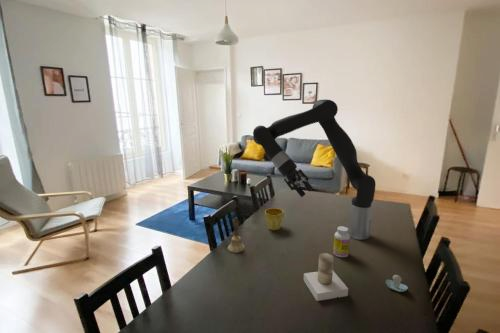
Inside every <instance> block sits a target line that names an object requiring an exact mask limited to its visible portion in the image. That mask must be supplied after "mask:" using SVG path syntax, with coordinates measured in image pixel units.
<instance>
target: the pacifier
mask: <svg viewBox="0 0 500 333" xmlns="http://www.w3.org/2000/svg"><path fill="white" fill-rule="evenodd" d="M402 281H403V279H402V277H401V276H400V275H398V274H394V275H392V279H386V280H385V284H386V286H387V287H388V288H389V289H392V290H394V291H395V292H400V293H402V292H406V291H407V290H408V286H407V285H406V284H403V283H401V282H402Z"/></svg>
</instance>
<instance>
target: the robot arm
mask: <svg viewBox="0 0 500 333" xmlns="http://www.w3.org/2000/svg"><path fill="white" fill-rule="evenodd" d="M338 110H339V108H338V105H337V103H336V102H335V101H334V100H331V99H318V100H316V101H314V103H313V104H312V108H310V109H308V110H305V111H303V112H299V113H296V114H295V113H294V114H292V115H288V116H286V117H283V118H279V119H278V120H276V121H273V122H272V123H271V124H270V126H269V125H268V126H267V127H266V126H264V125H257V126H255V127H254V129H253V132H252V135H253V136H252V137H253V141H254V143H255V144H257V145H258V146H260V147H262V148H263V151H264V153H265V155H266V156H267V157H268V159H269V161H271V163H272V164H273V166H274V167H275V168H276V169H277V171H278V172H279V173H280V174H281V176H282V177H283V178H284V179H283V181H284V182H285V183H286V185H287V186H288V187H289V188H290V190H291V191H296V193H297V194H298V195H299V196H300V197H301V198H303V197H304V196H305V195H306V192H305V191H304V190H303V189H302V187H300V184H302V185H304V187H305V188H306V190H307V191H308V192H311V191H313V190H314V187H313V186H312V185H311V184H310V182H309V180H310V178H309V177H308V176H307V175H306V174H305V173H304V172H303V170H302V169H301V168H300V169H298V170H297V167H298V165H297V164H296V162H294V160H292V158H291V157H290V155H289V154H288V153H287V152H285V150H284V149H283V148H282V147H281V145H280V144H279V143H278V142H277V140H276V139H277V138H279V137H281V136H284V135H287V134H289V133H292V132H294V131H296V130H298V129H301V128H303V127H307V126H310V125H312V124H316V123H318V124H319V125H320V127H321V128H322V130H323V131H324V134H325V135H326V137H327V140H328V141H329V143H330V145H331V147H332V149H333V152H334V153H335V155H336V156H337V159H338V161H339V163H340V164H341V165H342V167H343V169H344V171H345V174H346V175H347V178H348V180H349V182H350V184H351V187H352V188H353V189H355V190H356V196H354V197H352V199H351V206H350V220H349V229H348V234H349V235H350V238H352V239H355V240H359V241H360V240H361V241H362V240H367V239H369V238H370V237H371V229H372V219H371V210H372V204H373V201H374V198H375V193H376V186H377V185H376V180H375V178H374V177H373V176H371V175H369V174H367V173H365V172H364V170H363V169H362V168H361V166H360V164H359V162H358V154H357V149H356V147H355V145H354V143H353V141H352V139H351V138H350V136H349V134H347V132H346V131H345V130H344V129H343V128H342V127H341V126H340V124H339V123H338V122H337V119H336V116H337V113H338Z"/></svg>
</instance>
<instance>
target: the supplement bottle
mask: <svg viewBox="0 0 500 333" xmlns="http://www.w3.org/2000/svg"><path fill="white" fill-rule="evenodd" d="M333 238H334V239H333V250H332V252H333V254H334V256H336V257H338V258H346V257H348V256H349V251H350V240H351V236H350V235H349V228H348V227H346V226H342V225H340V226H338V227H337V229H336V232H334V236H333Z"/></svg>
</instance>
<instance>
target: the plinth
mask: <svg viewBox="0 0 500 333" xmlns="http://www.w3.org/2000/svg"><path fill="white" fill-rule="evenodd" d="M303 281H304V283H305V284H306V286H307V288H308V289H309V291H310V293H311V295H312V296H313V298H314V299H315V301H316V302H320V301H325V300H331V299H337V297H338V298H343V297H348V296H349V288H348V287H347V285H346V284H345V283H344V281H342V279H341V278H340V277H339V275H337V274H336V272H335V271H334V270H333V275H332V283H331V284H330V285H322V284H320V283H319V282H318V271H313V272H304V273H303Z"/></svg>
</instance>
